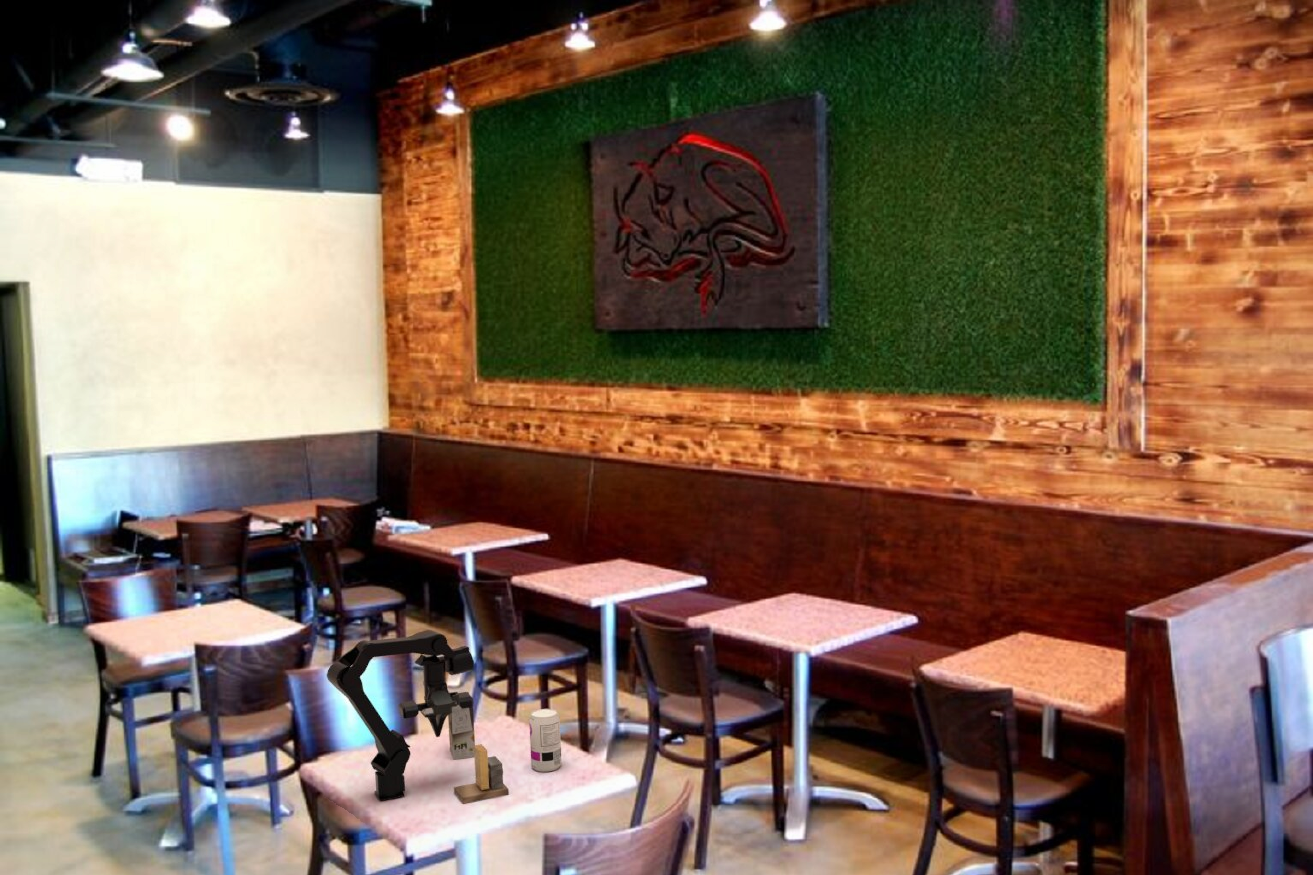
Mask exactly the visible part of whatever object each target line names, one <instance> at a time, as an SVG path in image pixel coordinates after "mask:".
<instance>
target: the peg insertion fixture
mask: <svg viewBox="0 0 1313 875" xmlns="http://www.w3.org/2000/svg"><path fill="white" fill-rule="evenodd" d="M488 768H489V769H490V778H489V789H485V790H481V789H480V788H479V787H478V786H477V784H476V782H473V783H468V784H465V785H464V784H463V785H458V786H454V787H453V794H454V795H455V796H456V797H457V798H458V800H459V801H460V802H461V804H468V803H469V804H470V803H472V802H473V803H474V802H479V801H484V800H488V799H493V798H498V797H503V796H508V795H509V793H510V792H509V788H508V787H507V785H506V784H505V783H504V769H503V762H502V761H501V760H500V759H499V758H498V757H497V756H495V755H493V756H489V757H488ZM502 795H503V796H502Z"/></svg>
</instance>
